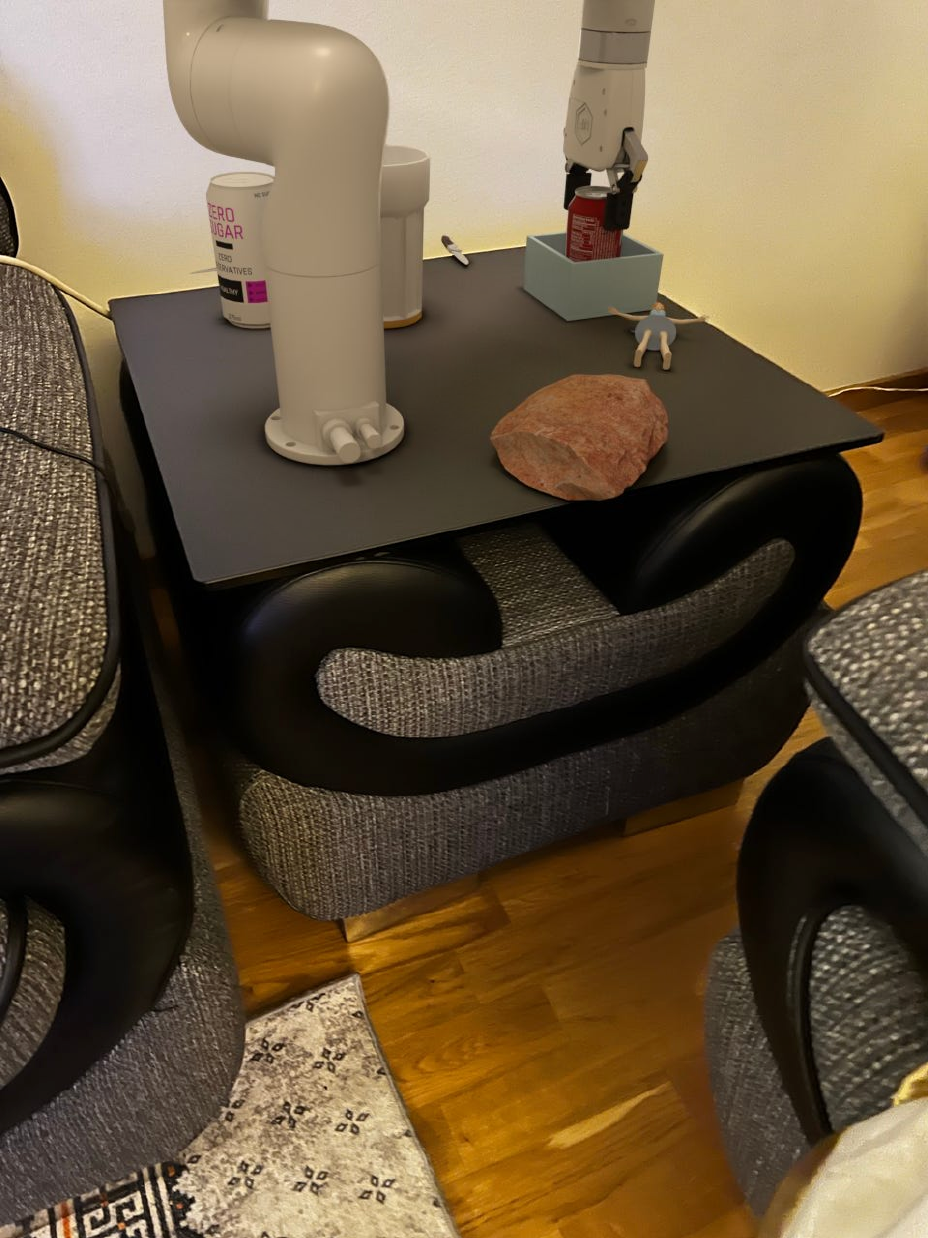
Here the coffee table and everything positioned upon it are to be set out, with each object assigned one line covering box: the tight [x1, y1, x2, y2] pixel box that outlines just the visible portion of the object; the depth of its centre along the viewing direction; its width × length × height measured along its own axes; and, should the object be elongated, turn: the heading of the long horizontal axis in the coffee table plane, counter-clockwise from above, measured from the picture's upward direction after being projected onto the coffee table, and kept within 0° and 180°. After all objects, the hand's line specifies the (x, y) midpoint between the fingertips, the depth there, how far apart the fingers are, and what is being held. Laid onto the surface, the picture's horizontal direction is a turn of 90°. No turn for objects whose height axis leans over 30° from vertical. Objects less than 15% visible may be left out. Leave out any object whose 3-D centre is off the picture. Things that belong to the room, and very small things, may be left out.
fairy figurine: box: [607, 301, 710, 371], centre depth 100 cm, size 12×5×12 cm
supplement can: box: [205, 171, 275, 329], centre depth 101 cm, size 8×8×15 cm
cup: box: [380, 143, 431, 330], centre depth 102 cm, size 11×11×17 cm
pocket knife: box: [440, 234, 469, 266], centre depth 127 cm, size 14×1×2 cm
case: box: [523, 231, 665, 322], centre depth 111 cm, size 12×12×7 cm
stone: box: [489, 373, 669, 502], centre depth 80 cm, size 14×6×20 cm
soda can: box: [564, 185, 624, 262], centre depth 109 cm, size 7×7×12 cm
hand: (595, 218), depth 107 cm, fingers open, 9 cm apart
